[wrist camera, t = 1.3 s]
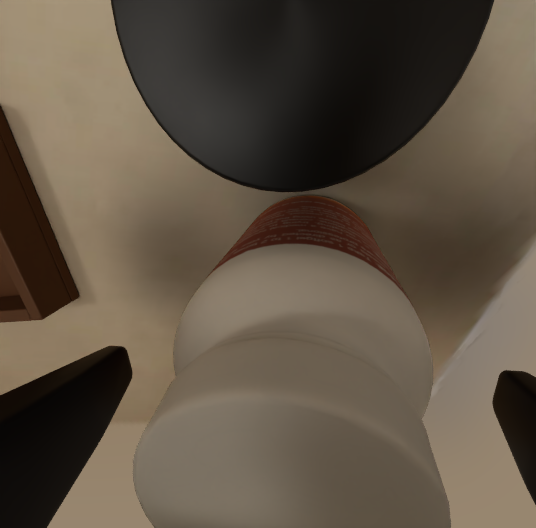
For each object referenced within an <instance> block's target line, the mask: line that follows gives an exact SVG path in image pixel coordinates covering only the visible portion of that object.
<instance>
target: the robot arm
mask: <svg viewBox="0 0 536 528" xmlns="http://www.w3.org/2000/svg"><path fill="white" fill-rule="evenodd" d="M131 379H132V368H131V364H130V360H129V356H128V353H127V350H126V349H125V348H124V347H122V346H108V347H105V348H103V349H101V350H99V351H97V352H94V353H92V354H90V355H88V356H86V357H83V358H81V359H79V360H77V361H75V362H72V363H70V364H68V365H66V366H64V367H62V368H59V369H57V370H55V371H53V372H51V373H48V374H46V375H44V376H42V377H40V378H38V379H35V380H33V381H31V382H29V383H27V384H24V385H22V386H20V387H18V388H16V389H13V390H11V391H9V392H7V393H5V394H3V395H0V528H47V526H48V525H49V523H50V521H51V520H52V518H53V516H54V515H55V513H56V512H57V510H58V508H59V507H60V505H61V504H62V502H63V500H64V499H65V497H66V495H67V494H68V492H69V491H70V489H71V487H72V485H73V484H74V482H75V481H76V479H77V478H78V476H79V474H80V473H81V471H82V469H83V468H84V466H85V465H86V463H87V461H88V459H89V458H90V457H91V455H92V453H93V452H94V450H95V448H96V447H97V445H98V443H99V442H100V440H101V438H102V437H103V435H104V433H105V430H106V429H107V427H108V425H109V423H110V421H111V419H112V417H113V415H114V413H115V411H116V409H117V407H118V405H119V403H120V401H121V399H122V397H123V395H124V393H125V391H126V390H127V388H128V386H129V384H130V381H131ZM493 408H494V412H495V414H496V417H497V419H498V421H499V424H500V426H501V428H502V431H503V433H504V436H505V438H506V440H507V442H508V445H509V447H510V450H511V452H512V455H513V457H514V459H515V462H516V464H517V466H518V469H519V471H520V474H521V476H522V478H523V480H524V482H525V485H526V487H527V489H528V491H529V493H530V495H531V497H532V499H533V501H534V503H535V505H536V377H534V376H532V375H531V374H529V373H526V372H523V371H507V370H506V371H503V372H501V373H500V375H499V378H498V382H497V386H496V389H495V393H494V397H493Z"/></svg>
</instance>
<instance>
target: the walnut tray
mask: <svg viewBox="0 0 536 528" xmlns="http://www.w3.org/2000/svg"><path fill="white" fill-rule="evenodd" d="M78 297H79V295H78V292H77V290H76V287H75V285H74V283H73V280H72V278H71V275H70V273H69V271H68V268H67V266H66V263H65V261H64V259H63V256H62V254H61V251H60V249H59V247H58V244H57V242H56V239H55V237H54V235H53V232H52V230H51V227H50V225H49V223H48V220H47V218H46V215H45V213H44V211H43V208H42V206H41V203H40V201H39V199H38V196H37V194H36V191H35V189H34V187H33V184H32V182H31V179H30V177H29V174H28V172H27V170H26V167H25V165H24V162H23V160H22V158H21V155H20V153H19V150H18V148H17V146H16V143H15V141H14V138H13V136H12V134H11V131H10V129H9V126H8V124H7V122H6V119H5V117H4V114H3V112H2V110H1V107H0V322H15V321H31V320H43V319H44V318H46V317H47V316H49V315H51V314H52V313H54V312H56V311H57V310H59V309H60V308H62V307H64V306H65V305H67V304H68V303H70V302H71V301H74V300H75V299H77V298H78Z"/></svg>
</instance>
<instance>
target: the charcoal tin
mask: <svg viewBox="0 0 536 528" xmlns="http://www.w3.org/2000/svg"><path fill="white" fill-rule="evenodd" d="M493 3H494V0H111V5H112V10H113V15H114V20H115V26H116V31H117V35H118V38H119V42H120V45H121V49H122V52H123V55H124V59H125V61H126V64H127V66H128V69H129V71H130V74H131V76H132V79H133V81H134V83H135V85H136V87H137V89H138V91H139V93H140V95H141V97H142V99H143V100H144V102H145V104H146V106H147V107H148V109H149V110H150V112H151V113H152V115H153V116H154V118H155V119H156V121H157V122H158V124H159V125H160V126H161V127H162V129H163V130H164V131H165V132H166V133H167V134H168V136H169V137H170V138H171V139H172V140H173V142H175V143H176V144H177V145H178V146H179V147H180V148H181V149H182V150H183V151H184V152H185V153H186V154H187V155H188V156H190V157H191V158H192V159H194V160H195V161H196V162H198V163H199V164H201V165H202V166H203V167H205V168H206V169H208V170H210V171H212V172H213V173H215V174H217V175H219V176H221V177H222V178H225V179H227V180H230V181H232V182H235V183H237V184H240V185H243V186H247V187H251V188H255V189H259V190H265V191H274V192H303V191H309V190H315V189H321V188H325V187H329V186H332V185H335V184H339V183H342V182H345V181H347V180H349V179H352V178H354V177H356V176H358V175H361V174H363V173H365V172H367V171H368V170H370V169H372V168H373V167H375V166H377V165H378V164H380V163H382V162H384V161H385V160H387V159H388V158H389V157H390V156H392V155H393V154H394V153H396V152H397V151H398V150H400V149H401V148H402V147H404V146H405V145H406V144H407V143H408V142H409V141H410V140H411V139H412V138H413V137H414V136H415V135H416V134H417V133H419V132H420V131H421V130H422V129H423V128H424V127H425V126H426V125H427V123H428V122H429V121H430V120H431V119H432V117H433V116H434V115H435V114H436V113H437V111H438V110H439V109H440V108H441V107H442V105H443V104H444V103H445V101H446V100H447V98H448V97H449V95H450V94H451V92H452V91H453V90H454V88H455V87H456V85H457V84H458V82H459V81H460V79H461V77H462V76H463V74H464V72H465V70H466V68H467V66H468V64H469V62H470V60H471V59H472V57H473V55H474V53H475V51H476V49H477V46H478V44H479V42H480V39H481V37H482V34H483V32H484V29H485V27H486V24H487V22H488V19H489V16H490V13H491V10H492V6H493Z"/></svg>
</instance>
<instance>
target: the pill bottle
mask: <svg viewBox="0 0 536 528" xmlns="http://www.w3.org/2000/svg"><path fill="white" fill-rule="evenodd" d="M173 355H174V368H175V375H176V378H175V379H174V380H173V382H172V383H171V384H170V386H169V388H168V390H167V392H166V393H165V395H164V397H163V399H162V401H161V403H160V404H159V406H158V408H157V410H156V411H155V413H154V415H153V417H152V418H151V420H150V422H149V424H148V425H147V427H146V429H145V430H144V432H143V434H142V436H141V439H140V441H139V443H138V446H137V449H136V451H135V455H134V460H133V480H134V486H135V491H136V494H137V496H138V499H139V502H140V504H141V506H142V509H143V510H144V512H145V514H146V516H147V517H148V519H149V520H150V522H151V523H152V525H153V526H154V527H155V528H451V520H450V510H449V502H448V499H447V496H446V493H445V489H444V486H443V483H442V480H441V477H440V474H439V471H438V468H437V465H436V462H435V459H434V456H433V453H432V450H431V447H430V443H429V439H428V435H427V432H426V429H425V427H424V424H423V422H422V420H421V419H422V417H423V416H424V413H425V411H426V408H427V406H428V402H429V400H430V396H431V390H432V385H433V361H432V355H431V350H430V345H429V342H428V338H427V336H426V333H425V331H424V328H423V326H422V324H421V322H420V320H419V318H418V316H417V314H416V312H415V310H414V308H413V305H412V303H411V302H410V300H409V298H408V297H407V295H406V293H405V292H404V290H403V288H402V287H401V285H400V283H399V282H398V280H397V278H396V277H395V275H394V273H393V271H392V270H391V268H390V266H389V264H388V263H387V261H386V259H385V257H384V256H383V254H382V252H381V250H380V249H379V247H378V245H377V243H376V242H375V240H374V238H373V236H372V235H371V233H370V231H369V229H368V228H367V226H366V225H365V223H364V222H363V221H362V220H361V219H360V218H359V217H358V216H357V215H356V214H355V213H354V212H353V211H352V210H350V209H349V208H348V207H346V206H344V205H343V204H341V203H339V202H337V201H335V200H333V199H330V198H326V197H322V196H316V195H300V196H294V197H290V198H287V199H284V200H281V201H279V202H277V203H275V204H274V205H272V206H270V207H269V208H267V209H266V210H265V211H264V212H263V213H261V214H260V215H259V216H258V217H257V218H256V220H255V221H254V222H253V223H252V224H251V226H250V227H249V228H248V229H247V230H246V232H245V233H244V234H243V235H242V236H241V238H240V239H239V240H238V241H237V242H236V244H235V245H234V246H233V247H232V248H231V249H230V251H229V252H228V253H227V254H226V255H225V256H224V257H223V259H222V260H221V261H220V262H219V263H218V265H217V266H216V267H215V268H214V269H213V271H212V272H211V273H210V274H209V275H208V277H207V278H206V279H205V280H204V282H203V283H202V284H201V286H200V287H199V288H198V290H197V291H196V292H195V294H194V295H193V296H192V298H191V299H190V301H189V303H188V305H187V306H186V308H185V310H184V312H183V314H182V316H181V319H180V321H179V325H178V327H177V331H176V336H175V341H174V352H173Z"/></svg>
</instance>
